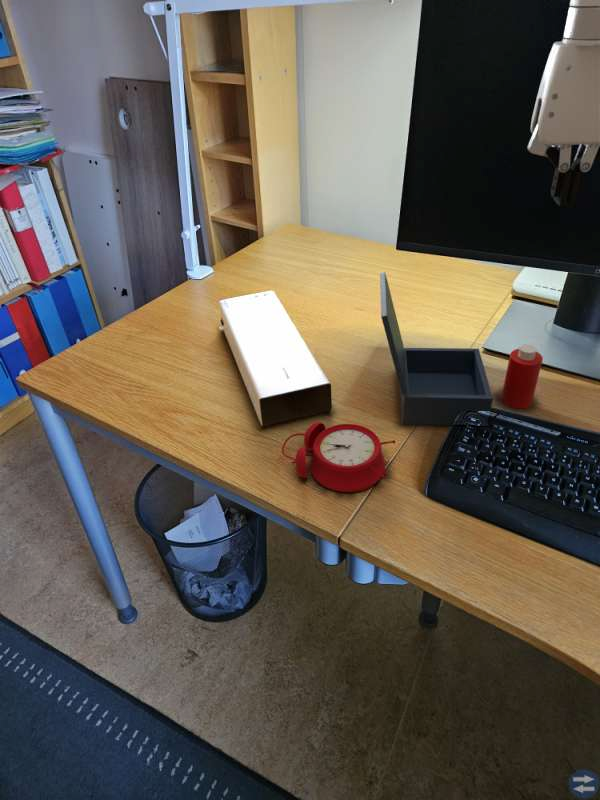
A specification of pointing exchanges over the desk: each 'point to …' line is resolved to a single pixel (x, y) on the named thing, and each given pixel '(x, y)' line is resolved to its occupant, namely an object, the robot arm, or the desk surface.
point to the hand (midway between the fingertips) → (562, 202)
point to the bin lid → (392, 332)
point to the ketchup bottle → (521, 377)
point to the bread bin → (443, 385)
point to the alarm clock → (341, 456)
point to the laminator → (273, 359)
